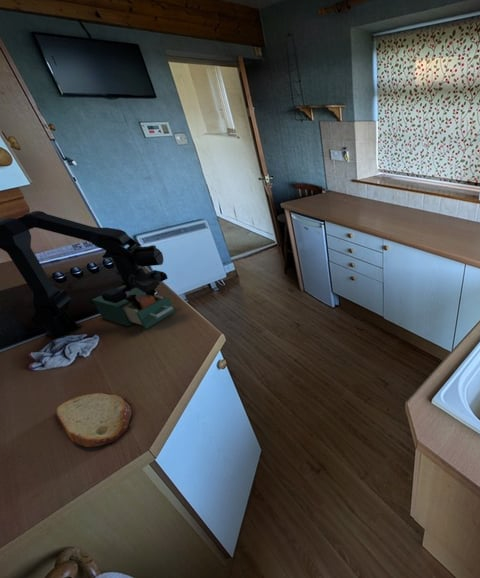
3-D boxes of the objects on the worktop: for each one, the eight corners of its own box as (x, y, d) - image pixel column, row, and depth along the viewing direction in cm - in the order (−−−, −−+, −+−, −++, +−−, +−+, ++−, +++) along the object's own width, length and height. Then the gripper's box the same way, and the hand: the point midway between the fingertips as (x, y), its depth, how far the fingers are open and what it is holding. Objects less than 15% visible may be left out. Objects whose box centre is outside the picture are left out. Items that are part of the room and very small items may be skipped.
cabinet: (161, 308, 116) (153, 289, 112) (128, 326, 106) (117, 306, 102) (137, 301, 120) (128, 283, 116) (103, 318, 110) (91, 299, 106)
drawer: (183, 313, 112) (177, 298, 109) (154, 331, 103) (147, 315, 99) (152, 305, 117) (145, 290, 113) (121, 321, 107) (113, 306, 104)
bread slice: (65, 403, 78) (58, 394, 76) (145, 385, 83) (140, 376, 82) (22, 469, 63) (11, 459, 61) (122, 442, 69) (115, 432, 67)
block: (145, 312, 105) (140, 301, 103) (137, 309, 106) (132, 299, 104) (157, 305, 109) (153, 295, 107) (149, 303, 110) (144, 293, 108)
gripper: (114, 284, 89) (135, 324, 97) (171, 260, 105) (185, 297, 113) (90, 278, 92) (112, 317, 100) (148, 255, 108) (163, 291, 116)
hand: (146, 305), depth 107 cm, fingers closed on block, 4 cm apart
